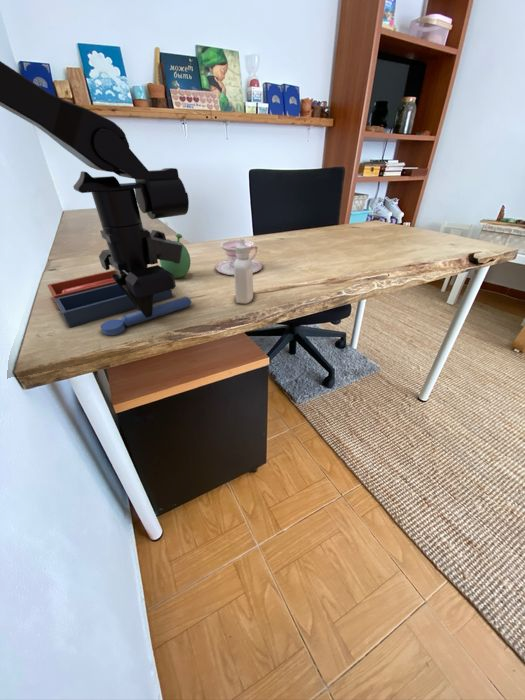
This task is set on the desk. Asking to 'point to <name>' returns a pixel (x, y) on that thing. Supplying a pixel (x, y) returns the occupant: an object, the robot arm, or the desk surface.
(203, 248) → the desk surface
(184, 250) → the alien toy
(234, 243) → the teacup
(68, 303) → the near bin
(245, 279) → the eye dropper bottle
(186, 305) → the blue spoon
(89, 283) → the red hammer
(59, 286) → the far bin
